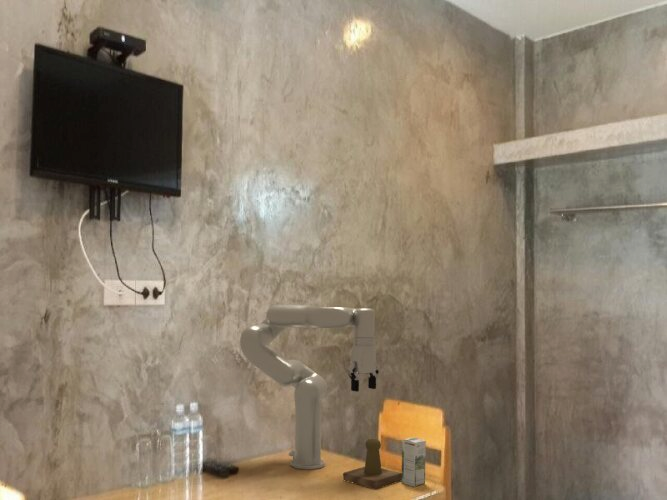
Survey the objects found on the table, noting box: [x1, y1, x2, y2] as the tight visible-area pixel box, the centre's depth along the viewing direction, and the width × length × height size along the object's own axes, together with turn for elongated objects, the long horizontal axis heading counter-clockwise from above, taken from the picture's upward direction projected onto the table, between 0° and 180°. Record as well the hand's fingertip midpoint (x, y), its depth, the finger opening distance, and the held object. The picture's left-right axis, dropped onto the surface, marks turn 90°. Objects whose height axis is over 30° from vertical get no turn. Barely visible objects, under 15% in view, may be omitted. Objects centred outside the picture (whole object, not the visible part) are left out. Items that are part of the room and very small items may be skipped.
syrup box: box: [400, 437, 427, 487], centre depth 210 cm, size 6×6×14 cm
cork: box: [364, 438, 382, 475], centre depth 213 cm, size 6×6×11 cm
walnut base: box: [342, 466, 402, 490], centre depth 212 cm, size 14×14×2 cm
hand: (363, 389), depth 228 cm, fingers open, 9 cm apart
